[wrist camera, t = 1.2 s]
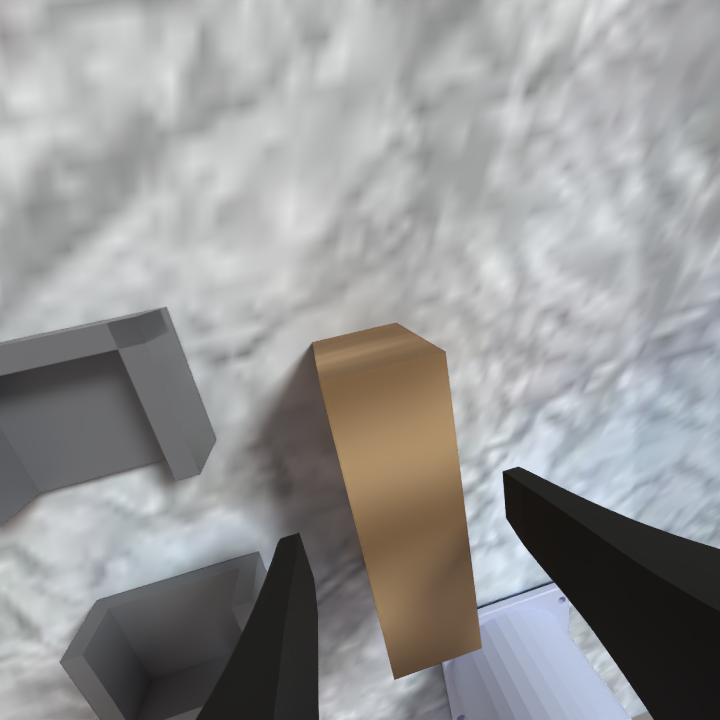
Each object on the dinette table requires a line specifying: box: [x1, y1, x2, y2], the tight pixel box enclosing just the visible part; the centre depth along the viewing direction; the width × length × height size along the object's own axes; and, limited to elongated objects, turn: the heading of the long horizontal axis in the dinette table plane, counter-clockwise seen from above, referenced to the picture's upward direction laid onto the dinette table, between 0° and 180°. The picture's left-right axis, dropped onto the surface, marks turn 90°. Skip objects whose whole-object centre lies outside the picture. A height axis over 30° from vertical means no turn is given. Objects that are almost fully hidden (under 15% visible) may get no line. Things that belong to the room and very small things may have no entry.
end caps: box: [0, 307, 267, 720], centre depth 13 cm, size 17×7×2 cm, turn 12°
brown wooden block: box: [312, 323, 482, 680], centre depth 13 cm, size 12×4×5 cm, turn 11°
